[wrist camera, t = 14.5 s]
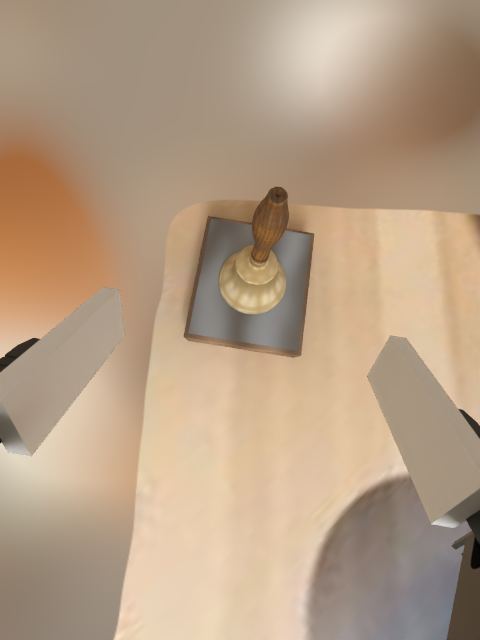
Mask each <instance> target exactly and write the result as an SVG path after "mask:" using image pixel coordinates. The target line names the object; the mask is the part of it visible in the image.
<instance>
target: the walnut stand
mask: <svg viewBox="0 0 480 640" xmlns="http://www.w3.org/2000/svg"><path fill="white" fill-rule="evenodd" d="M313 241H314V233H308V232H302V231H295V230H289V229H285V232H284V234H283V235H282V237H281V239H280V240H279V241H278V242H277V243H276V244H275V245H274V246H272V247H271V251H272V252H273V253H274V254H275V256H276V258H277V261H278V262H279V263H280V265H281V266H282V268H283V270H284V272H285V275H286V291H285V294H284V296H283V298H282V299H281V301H280V302H279V303H278V305H277V306H275V307H274V308H273V309H271V310H270V311H267V312H265V313H261V314H245V313H242V312H239V311H237V310H235V309H234V308H232V307H231V306H230V305H229V304H228V303H227V302H226V301H225V300H224V298H223V297H222V294H221V292H220V289H219V274H220V270H221V268H222V266H223V265H224V263H225V262H226V261H227V260H228V259H229V258H230V257H231V256H232V255H234V254H236V253H238V252H241V251H242V250H243V249H244V248H246V247H248V246H250V245H254V244H255V241H254V239H253V235H252V223H247V222H241V221H234V220H228V219H222V218H216V217H210V216H208V219H207V224H206V229H205V234H204V239H203V244H202V249H201V254H200V259H199V264H198V269H197V274H196V279H195V283H194V288H193V293H192V298H191V303H190V308H189V313H188V318H187V323H186V328H185V333H184V337H185V338H186V339H187V340H188V341H194V342H201V343H207V344H213V345H219V346H225V347H232V348H238V349H244V350H250V351H256V352H263V353H269V354H275V355H281V356H287V357H298V356H301V350H302V341H303V332H304V323H305V314H306V305H307V296H308V287H309V277H310V268H311V259H312V250H313Z"/></svg>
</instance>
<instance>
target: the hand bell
mask: <svg viewBox="0 0 480 640" xmlns="http://www.w3.org/2000/svg"><path fill="white" fill-rule="evenodd" d="M287 198H288V195H287V192H286V191H285V190H284V189H283V188H282V187H274V188H272V189H270V191H269V192H268V194H267V196H266V197H265V198H264V199H263V200H262V201H261V203H260V204H259V205H258V207H257V209H256V211H255V213H254V217H253V221H252V235H253V239H254V241H255V244H254V245H250V246H248V247H246V248H244V249H243V250H242V251H241V252H238V253H236V254H234V255H232V256H231V257H230V258H229V259H228V260H227V261H226V262H225V263H224V265H223V266H222V268H221V270H220V274H219V289H220V292H221V294H222V297H223V298H224V300H225V301H226V302H227V303H228V304H229V305H230V306H231V307H232V308H234V309H235V310H237V311H239V312H242V313H245V314H261V313H265V312H267V311H270V310H271V309H273V308H274V307H275V306H277V305H278V303H279V302H280V301H281V299H282V298H283V296H284V294H285V291H286V275H285V272H284V270H283V268H282V266H281V265H280V263H279V262H278V261H277V258H276V256H275V254H274V253H273V252H272V251H271V247H272V246H274V245H275V244H276V243H277V242H278V241H279V240H280V239H281V237H282V235H283V234H284V232H285V229H286V227H287V223H288V219H289V212H288V204H287Z"/></svg>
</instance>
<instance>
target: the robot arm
mask: <svg viewBox="0 0 480 640" xmlns="http://www.w3.org/2000/svg"><path fill="white" fill-rule="evenodd" d="M124 336H125V330H124V322H123V314H122V306H121V298H120V291H119V289H114V288H107V287H103V288H102V289H100V290H99V291H98V292H97V293H95V294H94V295H93V296H92V297H91V298H89V299H88V300H87V301H86V302H85V303H83V304H82V305H81V306H80V307H79V308H77V309H76V310H75V311H74V312H73V313H72V314H70V315H69V316H68V317H67V318H66V319H64V320H63V321H62V322H61V323H59V324H58V325H57V326H56V327H55V328H53V329H52V330H51V331H50V332H48V333H47V334H46V335H45V336H44V337H42V338H41V339H37V338H32V339H30V340H28V341H26V342H24V343H21V344H19V345H17V346H16V347H15V348H13V349H12V350H11V351H10V352H8V353H7V354H6V355H5V357H2V358H1V359H0V443H1V442H2V443H3V445H4V446H5V448H6V450H7V451H8V452H9V453H16V454H21V455H27V456H32V455H33V454H34V452H35V451H36V450H37V449H38V447H39V446H40V445H41V443H42V442H43V441H44V440H45V438H46V437H47V436H48V434H49V433H50V432H51V430H52V429H53V428H54V427H55V425H56V424H57V423H58V421H59V420H60V419H61V418H62V416H63V415H64V414H65V412H66V411H67V410H68V408H69V407H70V406H71V404H72V403H73V402H74V401H75V399H76V398H77V397H78V396H79V394H80V393H81V392H82V390H83V389H84V388H85V387H86V385H87V384H88V383H89V381H90V380H91V379H92V377H93V376H94V375H95V374H96V372H97V371H98V370H99V368H100V367H101V366H102V364H103V363H104V362H105V360H106V359H107V358H108V357H109V355H110V354H111V353H112V352H113V350H114V349H115V347H116V346H117V345H118V344H119V343H120V341H121V340H122V339H123V337H124ZM367 377H368V380H369V382H370V384H371V387H372V389H373V391H374V393H375V396H376V398H377V400H378V403H379V405H380V407H381V410H382V412H383V414H384V417H385V419H386V421H387V423H388V426H389V428H390V430H391V433H392V435H393V437H394V440H395V442H396V444H397V447H398V449H399V451H400V453H401V456H402V458H403V460H404V463H405V465H406V467H407V470H408V472H409V474H410V477H411V479H412V481H413V483H414V486H415V488H416V490H417V493H418V495H419V497H420V500H421V502H422V504H423V507H424V509H425V511H426V513H427V516H428V518H429V520H430V523H431V524H434V525H440V526H446V527H452V528H455V527H456V526H458V525H459V524H461V523H462V522H464V521H466V520H467V522H468V524H469V526H470V528H471V529H472V531H471V532H470V533H468V534H466V535H465V536H463V537H461V538H460V539H458V540H456V541H455V542H454V543H453V545H452V547H453V548H454V549H457V548H459V547H461V546H463V545H465V546H464V551H463V553H462V555H463V557H462V562H461V567H460V573H459V578H458V583H457V588H456V594H455V599H454V604H453V610H452V615H451V620H450V625H449V631H448V636H447V640H480V426H479V424H478V423H477V422H476V421H475V420H474V419H473V418H471V417H470V416H469V415H468V414H467V413H466V412H465V411H463V410H460V409H458V408H457V407H456V406H455V404H454V403H453V402H452V400H451V399H450V397H449V396H448V395H447V393H446V392H445V391H444V389H443V388H442V386H441V385H440V384H439V382H438V381H437V380H436V378H435V377H434V375H433V374H432V373H431V371H430V370H429V369H428V367H427V366H426V365H425V363H424V362H423V360H422V359H421V358H420V356H419V355H418V354H417V352H416V351H415V349H414V348H413V347H412V345H411V344H410V343H409V341H408V340H407V338H403V337H397V336H391V335H390V337H389V339H388V341H387V342H386V344H385V346H384V348H383V349H382V351H381V353H380V354H379V356H378V358H377V360H376V361H375V363H374V365H373V367H372V368H371V370H370V372H369V374H368V375H367Z"/></svg>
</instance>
